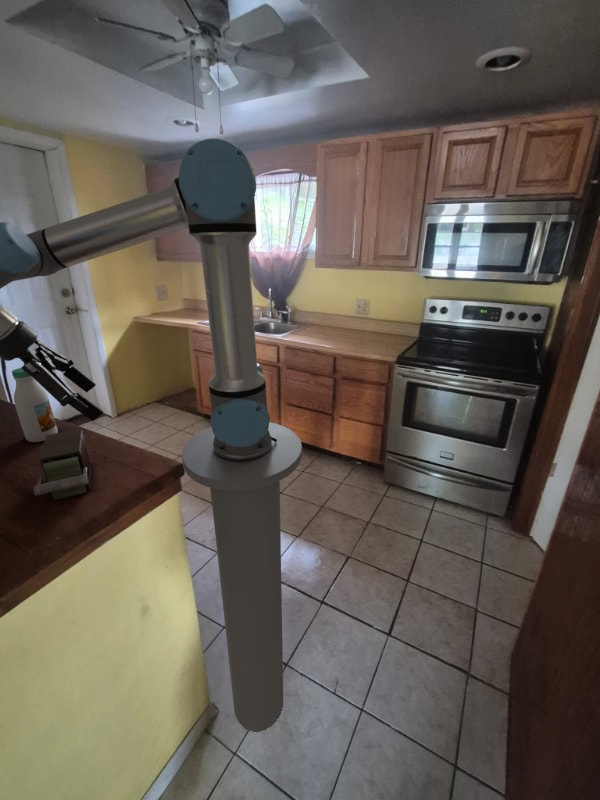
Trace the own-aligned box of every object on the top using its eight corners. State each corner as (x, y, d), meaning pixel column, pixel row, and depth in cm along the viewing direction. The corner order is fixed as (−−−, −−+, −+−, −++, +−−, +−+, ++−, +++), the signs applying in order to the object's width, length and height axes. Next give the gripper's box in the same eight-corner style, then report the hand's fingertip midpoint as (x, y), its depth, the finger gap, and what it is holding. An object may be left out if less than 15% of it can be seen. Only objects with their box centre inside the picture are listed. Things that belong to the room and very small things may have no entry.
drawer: (93, 504, 77) (84, 469, 74) (42, 517, 73) (30, 481, 70) (94, 467, 90) (86, 435, 86) (50, 476, 86) (40, 444, 83)
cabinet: (90, 490, 83) (79, 451, 78) (52, 499, 80) (39, 459, 76) (91, 465, 92) (81, 428, 88) (57, 472, 89) (46, 435, 85)
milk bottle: (32, 445, 100) (10, 376, 92) (21, 437, 104) (-1, 370, 96) (63, 435, 106) (44, 368, 98) (51, 427, 110) (32, 363, 102)
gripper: (-8, 324, 77) (76, 388, 92) (-22, 373, 59) (86, 442, 74) (22, 302, 78) (100, 368, 93) (17, 343, 60) (116, 417, 75)
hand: (94, 401), depth 83 cm, fingers open, 13 cm apart
